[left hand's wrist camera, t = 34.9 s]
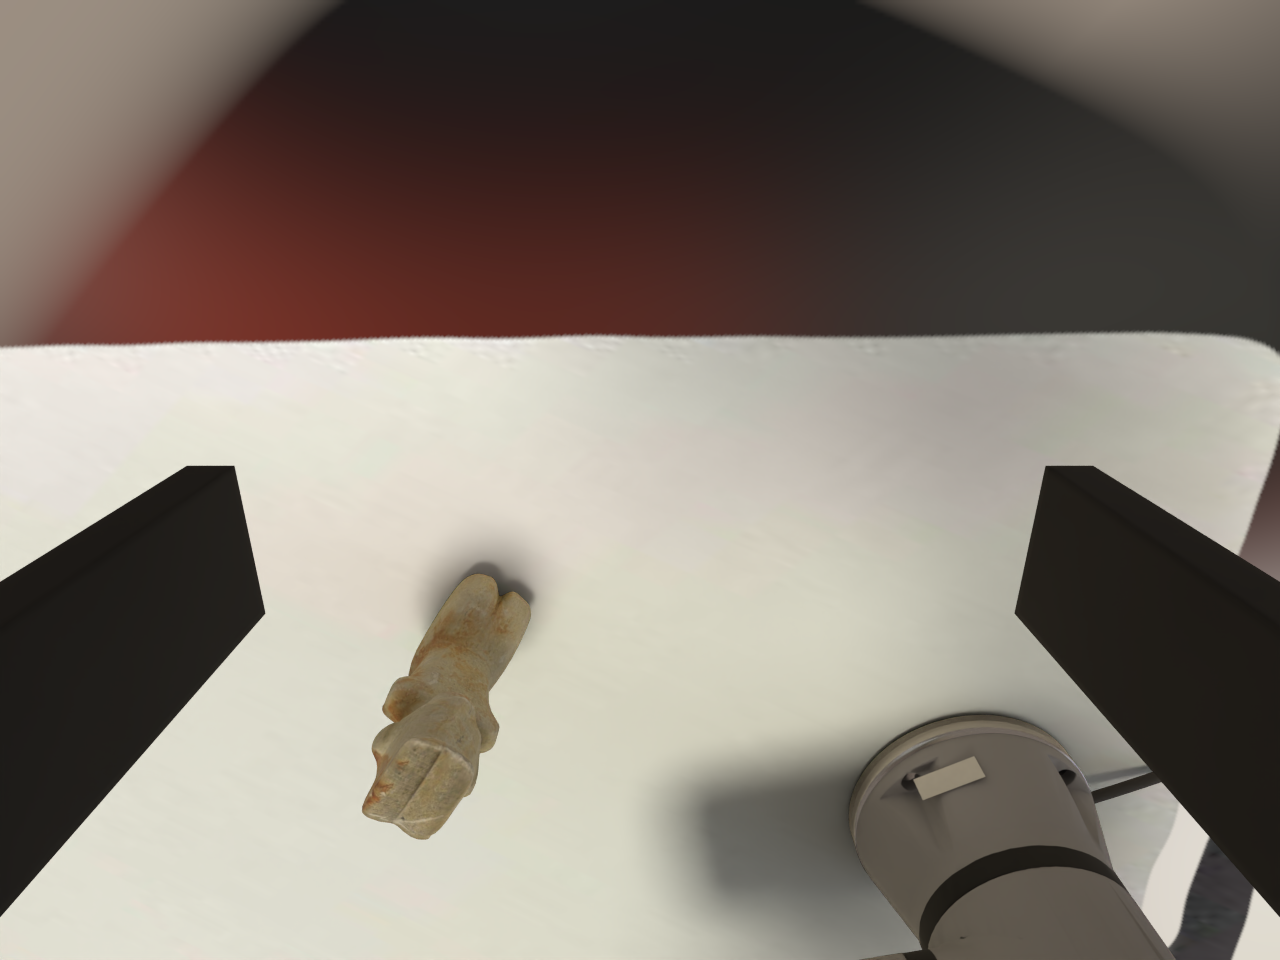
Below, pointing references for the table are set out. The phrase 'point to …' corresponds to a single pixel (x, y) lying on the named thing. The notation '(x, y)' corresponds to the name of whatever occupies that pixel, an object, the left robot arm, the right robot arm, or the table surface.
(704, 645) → the table surface
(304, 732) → the table surface
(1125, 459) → the table surface
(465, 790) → the sculpture
